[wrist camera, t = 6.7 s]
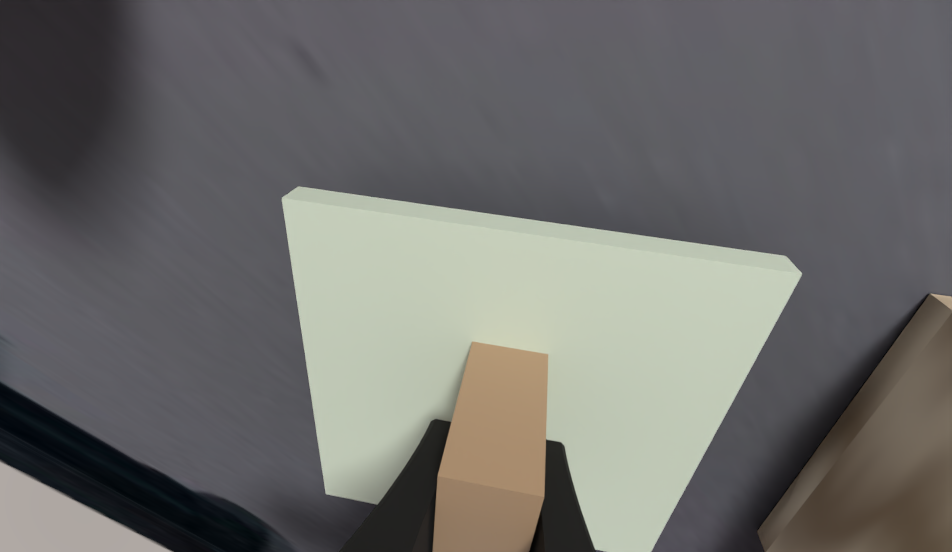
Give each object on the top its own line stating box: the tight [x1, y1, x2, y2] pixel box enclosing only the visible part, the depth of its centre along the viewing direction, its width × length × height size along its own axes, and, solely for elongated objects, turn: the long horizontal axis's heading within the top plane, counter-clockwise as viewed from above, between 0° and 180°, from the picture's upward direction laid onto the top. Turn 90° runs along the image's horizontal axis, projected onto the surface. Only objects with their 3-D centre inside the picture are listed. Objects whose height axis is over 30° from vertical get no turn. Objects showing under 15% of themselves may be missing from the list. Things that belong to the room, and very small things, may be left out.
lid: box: [282, 186, 802, 552], centre depth 12 cm, size 12×12×5 cm
